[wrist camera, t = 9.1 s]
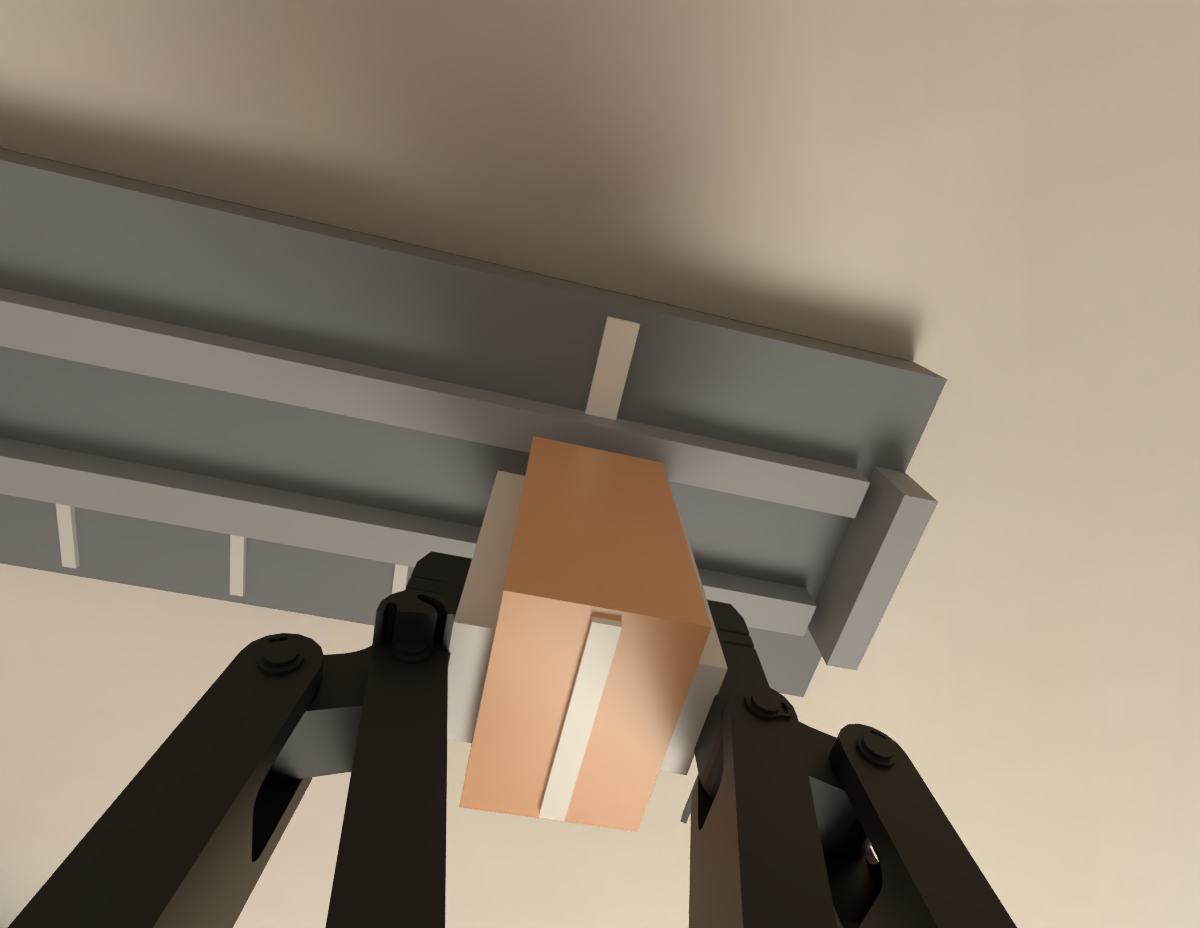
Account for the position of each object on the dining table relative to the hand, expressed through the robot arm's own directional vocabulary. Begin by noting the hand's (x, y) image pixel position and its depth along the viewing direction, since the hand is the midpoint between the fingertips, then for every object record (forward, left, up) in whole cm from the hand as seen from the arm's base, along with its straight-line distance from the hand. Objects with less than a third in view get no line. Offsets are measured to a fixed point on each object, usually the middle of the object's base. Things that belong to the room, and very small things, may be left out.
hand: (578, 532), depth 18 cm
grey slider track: (0, -5, -4) cm, 6 cm away
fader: (0, 0, -2) cm, 2 cm away
